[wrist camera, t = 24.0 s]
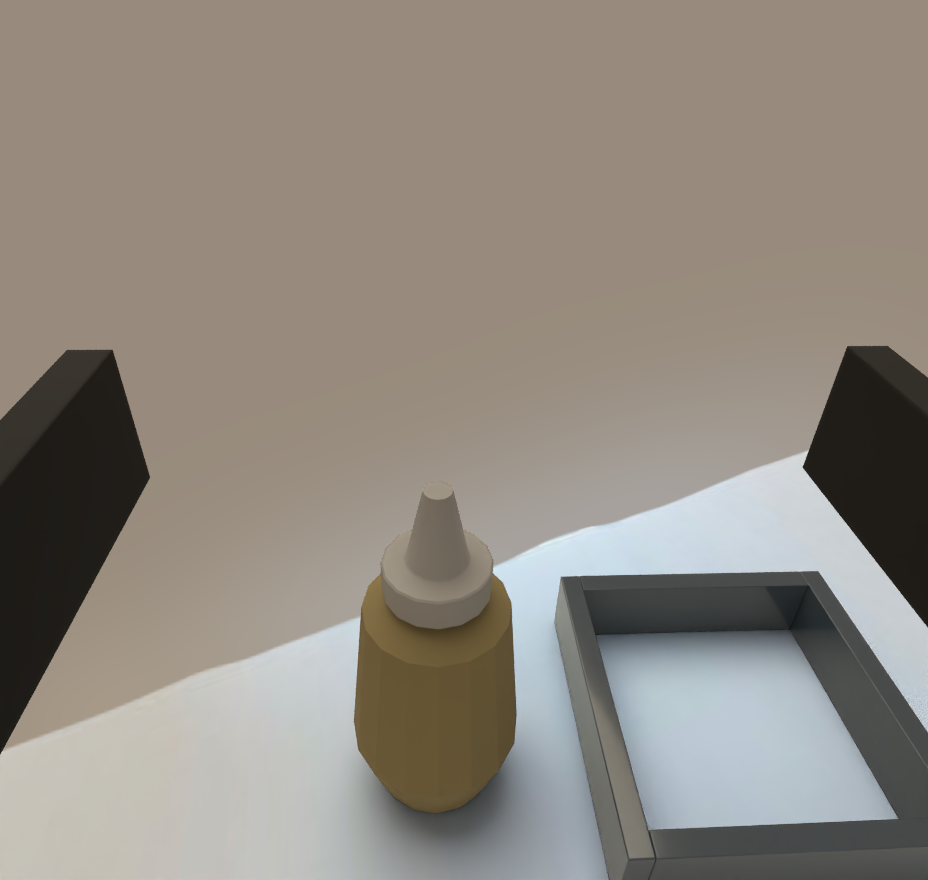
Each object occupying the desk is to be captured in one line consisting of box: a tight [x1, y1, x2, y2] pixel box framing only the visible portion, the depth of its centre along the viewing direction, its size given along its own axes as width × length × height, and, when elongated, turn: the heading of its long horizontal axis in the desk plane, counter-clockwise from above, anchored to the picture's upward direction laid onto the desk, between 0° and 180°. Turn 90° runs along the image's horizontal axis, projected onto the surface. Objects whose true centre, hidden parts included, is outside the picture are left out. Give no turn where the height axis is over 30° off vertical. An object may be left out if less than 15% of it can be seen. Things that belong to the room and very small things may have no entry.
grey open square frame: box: [554, 571, 928, 880], centre depth 37 cm, size 16×16×4 cm
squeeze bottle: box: [354, 481, 516, 813], centre depth 31 cm, size 8×8×18 cm
